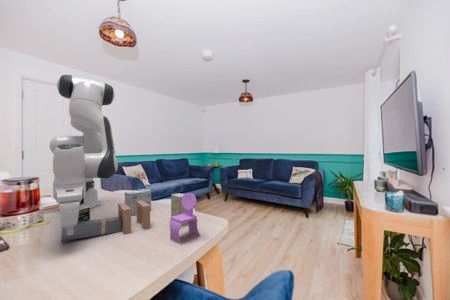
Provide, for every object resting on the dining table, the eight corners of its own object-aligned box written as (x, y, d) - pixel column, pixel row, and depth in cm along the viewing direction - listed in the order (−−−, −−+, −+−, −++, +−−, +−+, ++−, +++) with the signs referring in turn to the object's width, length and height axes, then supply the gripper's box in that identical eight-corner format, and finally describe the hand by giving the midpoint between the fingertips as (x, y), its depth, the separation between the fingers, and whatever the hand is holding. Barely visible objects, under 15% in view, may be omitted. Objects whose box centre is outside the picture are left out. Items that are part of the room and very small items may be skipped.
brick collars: (118, 225, 81) (118, 203, 81) (142, 220, 87) (142, 200, 87) (124, 234, 73) (123, 210, 73) (150, 227, 78) (150, 205, 78)
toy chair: (167, 238, 69) (166, 195, 69) (187, 230, 76) (187, 191, 76) (181, 245, 64) (181, 198, 64) (202, 236, 70) (201, 194, 70)
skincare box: (170, 223, 83) (170, 194, 83) (179, 220, 86) (179, 192, 86) (179, 227, 79) (179, 196, 79) (188, 224, 82) (188, 194, 82)
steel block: (61, 237, 68) (62, 223, 68) (120, 227, 79) (120, 215, 79) (60, 241, 64) (62, 226, 65) (122, 231, 75) (122, 218, 76)
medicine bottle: (74, 229, 78) (74, 198, 78) (59, 228, 79) (59, 198, 79) (90, 222, 85) (90, 194, 85) (76, 221, 86) (76, 194, 86)
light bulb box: (144, 208, 105) (144, 188, 105) (151, 210, 101) (151, 189, 101) (124, 213, 97) (124, 191, 97) (131, 216, 93) (131, 193, 93)
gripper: (59, 188, 74) (59, 225, 74) (55, 198, 58) (56, 245, 58) (80, 186, 78) (80, 221, 78) (82, 195, 62) (83, 239, 62)
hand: (70, 232), depth 68 cm, fingers closed on steel block, 4 cm apart
